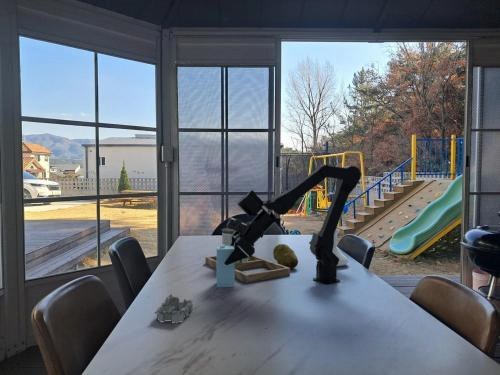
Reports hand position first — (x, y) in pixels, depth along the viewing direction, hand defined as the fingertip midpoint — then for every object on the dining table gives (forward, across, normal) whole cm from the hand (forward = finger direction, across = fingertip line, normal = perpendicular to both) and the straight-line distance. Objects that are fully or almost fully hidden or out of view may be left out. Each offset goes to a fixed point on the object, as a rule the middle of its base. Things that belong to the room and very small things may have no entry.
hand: (224, 260), depth 126 cm
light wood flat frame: (-1, -19, +12) cm, 22 cm away
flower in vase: (-25, -22, +36) cm, 49 cm away
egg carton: (+15, +26, -4) cm, 30 cm away
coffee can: (+2, -25, +9) cm, 27 cm away
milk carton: (+5, 0, +6) cm, 8 cm away
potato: (-12, -21, +23) cm, 33 cm away
